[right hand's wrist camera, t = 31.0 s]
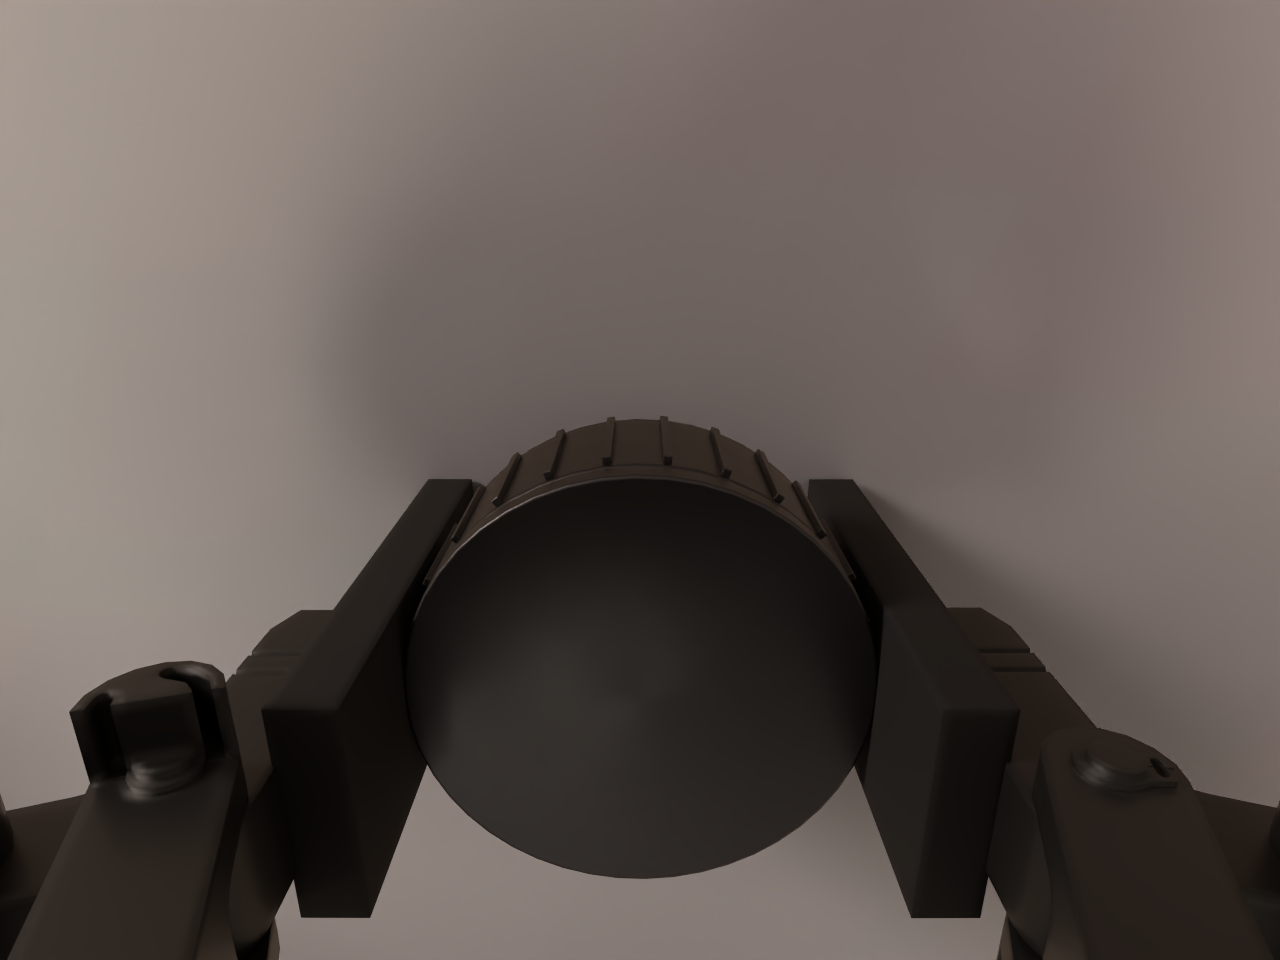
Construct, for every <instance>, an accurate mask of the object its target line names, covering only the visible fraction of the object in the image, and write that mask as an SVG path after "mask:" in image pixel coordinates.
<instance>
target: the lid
mask: <svg viewBox="0 0 1280 960" xmlns="http://www.w3.org/2000/svg"><path fill="white" fill-rule="evenodd" d="M854 580H856V576H855V574H854V572H853V571H852V569H851V567H850V565H849V563H848V562H847V560H846V558H845V556H844V554H843V553H842V551H841V549H840V547H839V545H838V543H837V542H836V540H835V538H834V536H833V534H832V533H831V531H830V529H829V527H828V525H827V524H826V522H825V520H824V519H822V520H819V518H818V516H817V515H816V513H815V511H814V509H813V507H812V505H811V503H810V502H809V500H808V498H807V496H806V494H805V492H804V490H803V488H802V487H801V485H800V484H799V483H798V481H795V482H794V483H791V482H790V481H789V480H788V479H787V477H786V476H785V475H784V474H783V473H781V472H780V471H779V470H778V469H777V468H775V467H774V466H773V465H772V464H771V463H769V462H768V460H767V458H766V456H765V454H764V452H762V451H761V450H759V449H758V450H757V451H756V453H755V452H753V451H752V450H750V449H749V448H747V447H745V446H744V445H742V444H740V443H738V442H736V441H734V440H731V439H729V438H727V437H725V436H723V435H720V431H719V429H717V428H714V427H712V428H711V430H710V431H709V430H706V429H702V428H699V427H696V426H692V425H688V424H682V423H676V422H670V421H668V417H664V416H660V420H642V419H633V420H621V421H616V420H615V417H609V418H607V422H604V423H599V424H595V425H590V426H586V427H581V428H578V429H575V430H572V431H570V432H567V433H565V431H564V429H562V430H559V431H557V433H556V436H555V437H554V438H552V439H550V440H548V441H546V442H544V443H542V444H540V445H538V446H536V447H534V448H532V449H530V450H529V451H528V452H526V453H525V454H523V455H522V456H521V455H520V454H519V452H517V453H516V454H515V455H513V456H512V458H511V460H510V462H509V465H508V466H507V467H506V468H505V469H504V470H502V471H501V472H500V473H499V474H498V475H497V476H496V477H495V478H494V479H493V480H492V481H491V482H490V483H489V484H488V485H487V486H486V488H485V487H484V486H483V485H480V486H479V487H478V489H477V490H476V492H475V494H474V496H473V498H472V500H471V501H470V503H469V505H468V507H467V509H466V511H465V513H464V514H463V516H462V518H461V520H460V522H459V524H456V523H455V524H454V526H453V528H452V530H451V532H450V534H449V535H448V537H447V539H446V541H445V543H444V544H443V546H442V548H441V550H440V552H439V554H438V555H437V557H436V559H435V561H434V563H433V565H432V566H431V568H430V570H429V572H428V574H427V575H426V577H425V579H424V581H423V585H425V586H427V589H426V591H425V593H424V595H423V597H422V599H421V602H420V604H419V606H418V609H417V611H416V614H415V616H414V618H413V621H412V624H411V626H410V627H411V628H410V632H409V636H408V641H407V645H406V650H405V661H404V673H403V676H404V688H405V698H406V706H407V711H408V716H409V720H410V725H411V729H412V731H413V734H414V736H415V739H416V742H417V744H418V747H419V749H420V752H421V754H422V756H423V757H424V759H425V761H426V763H427V765H428V766H429V768H430V770H431V772H432V773H433V775H434V777H435V778H436V779H437V781H438V782H439V783H440V785H441V786H442V787H443V789H444V790H445V791H446V793H447V794H448V795H449V796H450V797H451V799H452V800H453V801H454V802H455V803H456V804H457V805H458V806H459V807H460V808H461V809H462V810H463V811H464V812H465V813H466V814H467V815H468V816H469V817H471V818H472V819H473V820H474V821H476V822H477V823H478V824H479V825H481V826H482V827H483V828H484V829H486V830H487V831H488V832H489V833H491V834H493V835H494V836H496V837H497V838H499V839H501V840H502V841H504V842H505V843H507V844H509V845H510V846H512V847H514V848H516V849H518V850H520V851H522V852H524V853H526V854H529V855H531V856H533V857H535V858H537V859H540V860H543V861H545V862H548V863H551V864H554V865H557V866H560V867H562V868H566V869H570V870H575V871H579V872H583V873H587V874H592V875H600V876H607V877H615V878H636V879H650V878H665V877H676V876H682V875H688V874H693V873H699V872H704V871H707V870H711V869H714V868H718V867H722V866H725V865H728V864H731V863H734V862H736V861H739V860H741V859H744V858H746V857H749V856H751V855H754V854H756V853H757V852H759V851H761V850H763V849H765V848H767V847H769V846H771V845H773V844H774V843H776V842H778V841H780V840H781V839H783V838H784V837H785V836H787V835H788V834H790V833H791V832H793V831H794V830H796V829H797V828H799V827H800V826H801V825H802V824H804V823H805V822H806V821H807V820H808V819H809V818H810V817H812V816H813V815H814V814H815V813H816V812H817V811H818V810H820V809H821V808H822V806H823V805H824V804H825V803H826V802H827V801H828V800H829V799H830V797H831V796H832V795H833V794H834V793H835V792H836V791H837V790H838V788H839V787H840V785H841V784H842V782H843V781H844V780H845V778H846V777H847V775H848V774H849V772H850V771H851V769H852V768H853V766H854V764H855V762H856V760H857V758H858V756H859V754H860V752H861V750H862V748H863V746H864V744H865V741H866V738H867V735H868V732H869V729H870V726H871V722H872V719H873V714H874V708H875V701H876V693H877V678H878V664H877V656H876V649H875V642H874V637H873V634H872V630H871V620H870V618H869V616H868V615H867V613H866V611H865V609H864V607H863V605H862V603H861V601H860V599H859V597H858V595H857V593H856V591H855V589H854V587H853V585H852V583H851V581H854Z"/></svg>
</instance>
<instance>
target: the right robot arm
mask: <svg viewBox="0 0 1280 960" xmlns="http://www.w3.org/2000/svg"><path fill="white" fill-rule="evenodd" d="M472 498H473V489H472V479H428V481H427V482H426V484H425V485H424V486H423V488H422V489H421V490H420V492H419V493H418V495H417V496H416V497H415V499H414V500H413V501H412V503H411V504H410V505H409V507H408V508H407V510H406V511H405V512H404V514H403V515H402V516H401V518H400V519H399V521H398V522H397V523H396V525H395V526H394V527H393V529H392V530H391V532H390V533H389V534H388V536H387V537H386V538H385V540H384V541H383V542H382V544H381V545H380V547H379V548H378V549H377V551H376V552H375V553H374V555H373V556H372V558H371V559H370V560H369V562H368V563H367V564H366V566H365V567H364V569H363V570H362V571H361V573H360V574H359V575H358V577H357V578H356V580H355V581H354V582H353V584H352V585H351V586H350V588H349V589H348V590H347V592H346V593H345V595H344V596H343V597H342V599H341V600H340V601H339V603H338V604H337V606H336V607H335V608H334V610H301V611H299V612H297V613H296V614H294V615H293V616H291V617H289V618H288V619H286V620H285V621H283V622H281V623H280V624H278V625H276V626H275V627H273V628H272V629H270V631H269V632H268V633H267V634H266V635H265V636H264V638H263V639H262V640H261V641H260V642H259V644H258V645H257V646H256V647H255V648H254V650H253V651H252V656H248V657H247V658H246V659H245V660H244V661H243V663H242V664H241V665H240V666H239V667H238V669H237V673H236V675H232V676H231V677H230V678H229V679H228V681H227V682H226V683H225V678H224V674H223V673H222V672H221V671H219V670H218V669H217V668H215V667H214V666H213V665H210V664H205V663H200V662H195V661H180V662H164V663H160V664H156V665H152V666H147V667H143V668H139V669H135V670H133V671H130V672H128V673H125V674H123V675H120V676H118V677H115V678H113V679H111V680H108V681H106V682H105V683H103V684H102V685H100V686H98V687H97V688H95V689H94V690H92V691H91V692H89V693H87V694H86V695H84V696H83V697H82V698H81V700H80V701H79V702H78V703H77V704H76V705H75V706H74V707H73V708H72V709H71V711H70V712H69V713H70V716H71V720H72V723H73V727H74V730H75V733H76V737H77V740H78V744H79V747H80V750H81V754H82V757H83V761H84V764H85V768H86V771H87V774H88V778H89V781H90V785H89V787H88V789H87V791H86V793H85V794H84V795H80V796H76V797H72V798H67V799H62V800H58V801H53V802H48V803H43V804H38V805H34V806H29V807H24V808H19V809H14V810H10V811H6V810H5V807H4V804H3V801H2V798H1V795H0V960H278V959H279V951H280V946H279V938H278V931H277V926H276V921H275V915H276V913H277V911H278V909H279V907H280V905H281V903H282V901H283V899H284V897H285V895H286V893H287V891H288V889H289V887H290V885H291V883H292V881H293V879H294V883H295V888H296V893H297V898H298V903H299V908H300V914H301V918H370V917H371V914H372V911H373V909H374V906H375V903H376V901H377V898H378V895H379V893H380V890H381V887H382V884H383V882H384V879H385V876H386V874H387V871H388V868H389V866H390V863H391V860H392V858H393V855H394V852H395V850H396V847H397V844H398V841H399V839H400V836H401V833H402V831H403V828H404V825H405V823H406V820H407V817H408V815H409V812H410V809H411V807H412V804H413V801H414V799H415V796H416V793H417V790H418V788H419V785H420V782H421V780H422V777H423V774H424V772H425V769H426V766H427V763H426V761H425V759H424V757H423V756H422V754H421V752H420V749H419V747H418V744H417V742H416V739H415V736H414V734H413V731H412V729H411V725H410V720H409V716H408V711H407V706H406V698H405V688H404V676H403V673H404V661H405V650H406V645H407V641H408V636H409V632H410V628H411V627H410V626H411V624H412V621H413V618H414V616H415V614H416V611H417V609H418V606H419V604H420V602H421V599H422V597H423V595H424V593H425V591H426V589H427V586H425V585H423V581H424V579H425V577H426V575H427V574H428V572H429V570H430V568H431V566H432V565H433V563H434V561H435V559H436V557H437V555H438V554H439V552H440V550H441V548H442V546H443V544H444V543H445V541H446V539H447V537H448V535H449V534H450V532H451V530H452V528H453V526H454V524H455V523H456V524H459V522H460V520H461V518H462V516H463V514H464V513H465V511H466V509H467V507H468V505H469V503H470V501H471V500H472ZM808 500H809V502H810V503H811V505H812V507H813V509H814V511H815V513H816V515H817V516H818V518H819V520H822V519H824V520H825V522H826V524H827V525H828V527H829V529H830V531H831V533H832V534H833V536H834V538H835V540H836V542H837V543H838V545H839V547H840V549H841V551H842V553H843V554H844V556H845V558H846V560H847V562H848V563H849V565H850V567H851V569H852V571H853V572H854V574H855V576H856V580H854V581H851V583H852V585H853V587H854V589H855V591H856V593H857V595H858V597H859V599H860V601H861V603H862V605H863V607H864V609H865V611H866V613H867V615H868V616H869V618H870V620H871V630H872V634H873V637H874V642H875V649H876V656H877V664H878V678H877V693H876V701H875V708H874V714H873V719H872V722H871V726H870V729H869V732H868V735H867V738H866V741H865V744H864V746H863V748H862V750H861V752H860V754H859V756H858V758H857V760H856V762H855V764H854V766H855V768H856V771H857V774H858V777H859V779H860V782H861V785H862V787H863V790H864V793H865V795H866V798H867V801H868V803H869V806H870V809H871V811H872V814H873V817H874V819H875V822H876V825H877V827H878V830H879V833H880V835H881V838H882V841H883V843H884V846H885V849H886V851H887V854H888V857H889V859H890V862H891V865H892V868H893V870H894V873H895V876H896V878H897V881H898V884H899V886H900V889H901V892H902V894H903V897H904V900H905V902H906V905H907V908H908V910H909V913H910V916H911V918H980V916H981V911H982V906H983V901H984V896H985V891H986V886H987V881H988V877H989V878H990V880H991V882H992V884H993V886H994V888H995V890H996V892H997V894H998V896H999V898H1000V900H1001V902H1002V904H1003V906H1004V908H1005V910H1006V917H1005V921H1004V926H1003V931H1002V936H1001V941H1000V945H999V950H998V955H997V960H1280V801H1279V804H1278V807H1277V808H1274V807H1269V806H1264V805H1260V804H1255V803H1250V802H1245V801H1240V800H1235V799H1231V798H1226V797H1221V796H1216V795H1211V794H1207V793H1203V792H1200V791H1196V790H1193V788H1192V786H1191V783H1190V782H1189V780H1188V779H1187V778H1186V777H1185V775H1184V774H1183V773H1182V771H1181V770H1180V769H1179V767H1178V766H1177V765H1176V764H1175V763H1173V762H1172V761H1171V760H1169V759H1168V758H1167V757H1165V756H1164V755H1163V754H1161V753H1160V752H1159V751H1157V750H1156V749H1154V748H1153V747H1150V746H1148V745H1146V744H1144V743H1142V742H1140V741H1138V740H1135V739H1133V738H1131V737H1129V736H1127V735H1123V734H1119V733H1115V732H1112V731H1108V730H1104V729H1101V728H1097V727H1096V726H1095V725H1094V724H1093V723H1092V721H1091V720H1090V719H1089V718H1088V717H1087V715H1086V714H1085V713H1084V712H1083V711H1082V710H1081V708H1080V707H1079V706H1078V705H1077V704H1076V703H1075V701H1074V700H1073V699H1072V698H1071V697H1070V695H1069V694H1068V693H1067V692H1066V691H1065V690H1064V688H1063V687H1062V686H1061V685H1060V684H1059V682H1058V681H1057V680H1056V679H1055V678H1054V677H1053V675H1052V674H1051V673H1050V672H1046V670H1045V666H1044V665H1043V664H1042V662H1041V661H1040V660H1039V659H1038V658H1037V656H1036V655H1035V654H1034V653H1030V648H1029V647H1028V646H1027V645H1026V643H1025V642H1024V641H1023V640H1022V639H1021V638H1020V636H1019V635H1018V634H1017V633H1016V632H1015V630H1014V629H1013V628H1012V627H1011V626H1009V625H1008V624H1006V623H1005V622H1003V621H1001V620H1000V619H998V618H996V617H995V616H993V615H992V614H990V613H988V612H987V611H985V610H983V609H982V608H946V606H945V605H944V604H943V602H942V601H941V600H940V598H939V597H938V596H937V594H936V593H935V591H934V590H933V589H932V587H931V586H930V585H929V583H928V582H927V581H926V579H925V578H924V576H923V575H922V574H921V572H920V571H919V570H918V568H917V567H916V565H915V564H914V563H913V561H912V560H911V559H910V557H909V556H908V555H907V553H906V552H905V550H904V549H903V548H902V546H901V545H900V544H899V542H898V541H897V540H896V538H895V537H894V535H893V534H892V533H891V531H890V530H889V529H888V527H887V526H886V524H885V523H884V522H883V520H882V519H881V518H880V516H879V515H878V514H877V512H876V511H875V509H874V508H873V507H872V505H871V504H870V503H869V501H868V500H867V498H866V497H865V496H864V494H863V493H862V492H861V490H860V489H859V488H858V486H857V485H856V483H855V482H854V481H853V479H815V480H809V491H808Z"/></svg>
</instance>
